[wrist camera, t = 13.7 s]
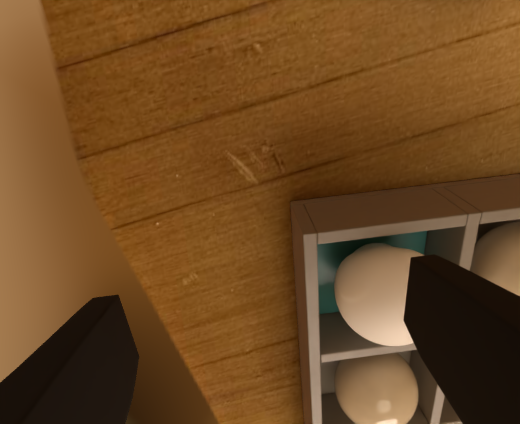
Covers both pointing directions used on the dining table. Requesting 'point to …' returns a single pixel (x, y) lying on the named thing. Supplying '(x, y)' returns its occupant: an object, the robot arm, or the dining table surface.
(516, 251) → the egg
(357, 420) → the egg
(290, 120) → the dining table surface
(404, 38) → the dining table surface
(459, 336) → the robot arm
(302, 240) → the carton
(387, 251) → the white hen egg
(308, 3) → the dining table surface
